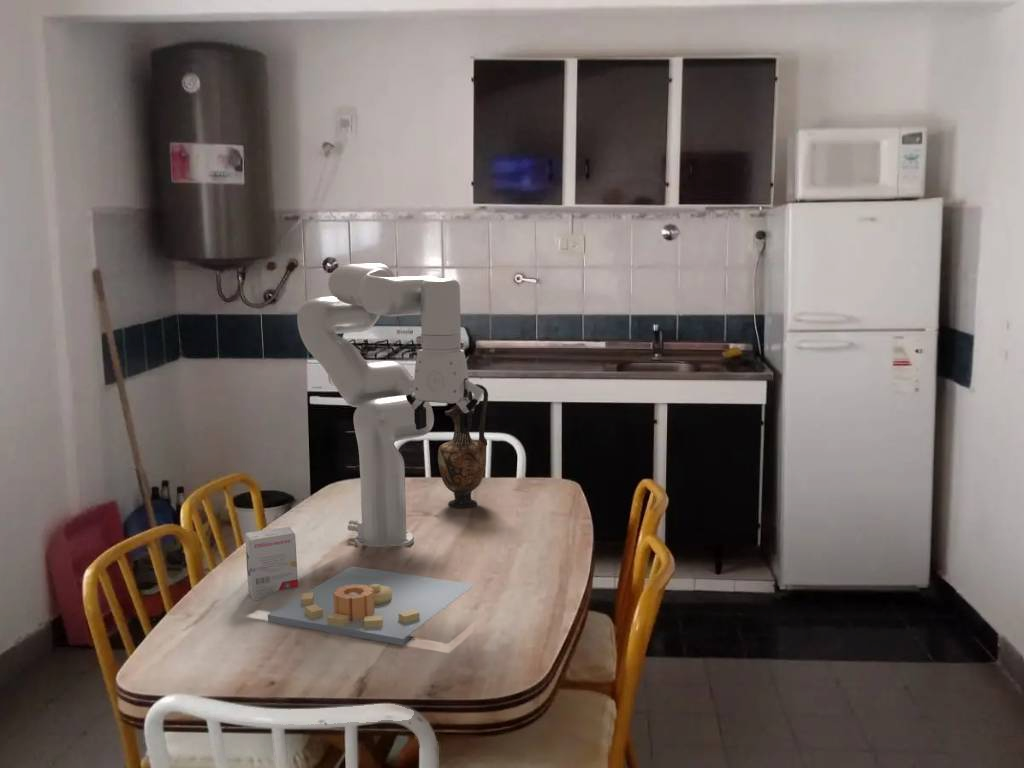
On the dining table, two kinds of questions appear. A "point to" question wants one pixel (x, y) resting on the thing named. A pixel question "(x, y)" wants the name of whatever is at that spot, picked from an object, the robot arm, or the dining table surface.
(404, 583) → the carrier board
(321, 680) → the dining table surface
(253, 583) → the ink box
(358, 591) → the planet gear
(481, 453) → the vase
